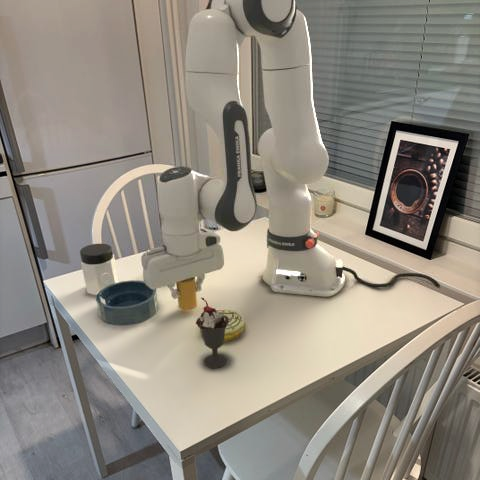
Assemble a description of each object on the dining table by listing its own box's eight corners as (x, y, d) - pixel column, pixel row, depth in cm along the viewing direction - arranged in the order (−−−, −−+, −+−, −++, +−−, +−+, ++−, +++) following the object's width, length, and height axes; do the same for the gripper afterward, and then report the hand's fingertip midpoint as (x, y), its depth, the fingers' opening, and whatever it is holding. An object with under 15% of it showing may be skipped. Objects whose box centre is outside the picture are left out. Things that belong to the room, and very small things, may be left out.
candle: (200, 303, 123) (198, 273, 118) (191, 311, 119) (188, 280, 115) (184, 299, 124) (182, 269, 120) (175, 307, 121) (171, 277, 117)
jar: (92, 300, 129) (83, 258, 123) (83, 288, 135) (74, 248, 129) (124, 290, 133) (117, 250, 127) (113, 280, 139) (106, 240, 133)
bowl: (169, 304, 126) (167, 286, 124) (135, 332, 115) (132, 313, 112) (124, 293, 132) (121, 276, 129) (87, 319, 121) (83, 301, 118)
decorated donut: (248, 321, 118) (248, 307, 116) (240, 346, 109) (239, 332, 107) (206, 318, 120) (205, 304, 118) (194, 342, 111) (193, 328, 109)
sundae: (199, 353, 107) (193, 292, 99) (230, 351, 107) (226, 290, 99) (199, 371, 101) (193, 309, 93) (232, 369, 102) (228, 306, 94)
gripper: (146, 256, 106) (153, 311, 113) (226, 235, 115) (228, 287, 122) (134, 247, 110) (142, 301, 118) (212, 227, 120) (215, 278, 127)
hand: (186, 293), depth 120 cm, fingers closed on candle, 4 cm apart
